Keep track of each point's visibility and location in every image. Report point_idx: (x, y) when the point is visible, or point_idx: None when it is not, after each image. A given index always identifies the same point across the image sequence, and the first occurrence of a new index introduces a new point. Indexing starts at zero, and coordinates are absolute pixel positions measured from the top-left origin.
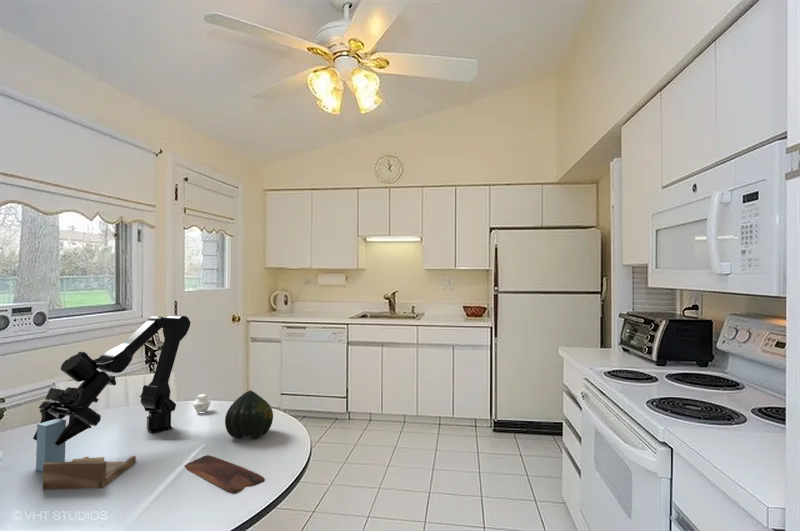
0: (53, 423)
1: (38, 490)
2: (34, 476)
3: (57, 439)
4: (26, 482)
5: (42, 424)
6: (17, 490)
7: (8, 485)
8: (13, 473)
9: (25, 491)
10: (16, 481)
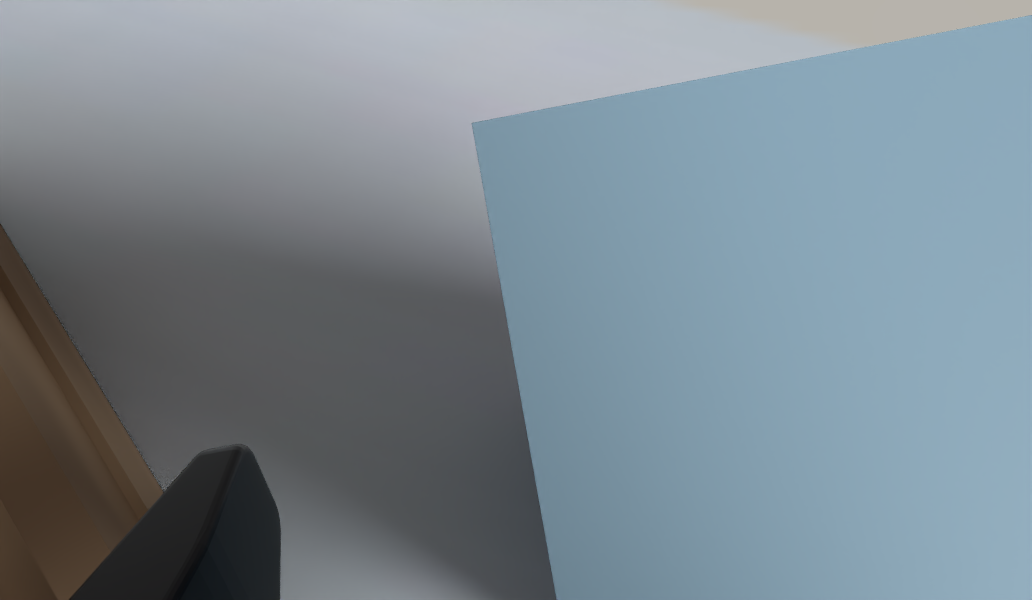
0: (592, 587)
1: (106, 170)
2: None
3: (203, 514)
4: None
5: (961, 123)
6: (340, 26)
7: (609, 7)
8: None
9: (221, 72)
10: None
